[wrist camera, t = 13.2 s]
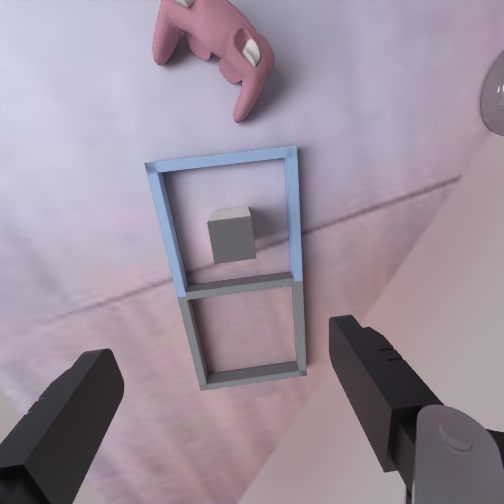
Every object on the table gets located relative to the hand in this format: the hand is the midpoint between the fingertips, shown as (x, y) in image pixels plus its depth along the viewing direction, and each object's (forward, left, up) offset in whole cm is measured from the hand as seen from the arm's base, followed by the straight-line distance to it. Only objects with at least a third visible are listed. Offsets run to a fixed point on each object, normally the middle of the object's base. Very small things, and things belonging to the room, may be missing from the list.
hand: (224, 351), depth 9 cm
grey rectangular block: (0, 0, -20) cm, 20 cm away
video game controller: (-1, -15, -21) cm, 26 cm away
